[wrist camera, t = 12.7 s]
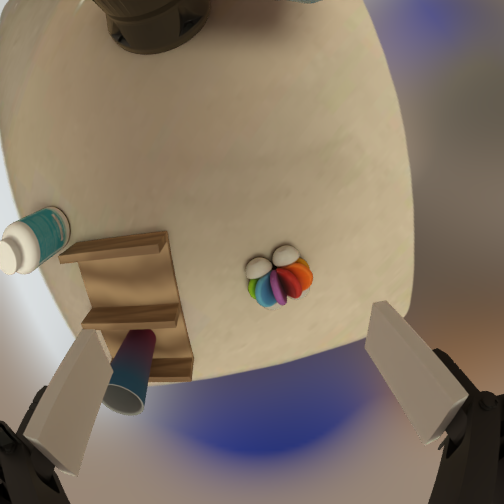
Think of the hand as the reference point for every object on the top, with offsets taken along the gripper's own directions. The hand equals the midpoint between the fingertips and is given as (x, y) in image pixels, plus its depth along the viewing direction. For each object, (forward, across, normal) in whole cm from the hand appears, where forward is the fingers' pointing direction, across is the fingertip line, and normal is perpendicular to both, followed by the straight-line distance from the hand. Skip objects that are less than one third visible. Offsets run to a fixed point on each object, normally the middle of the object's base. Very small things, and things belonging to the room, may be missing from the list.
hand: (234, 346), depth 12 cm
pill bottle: (+29, -29, +1) cm, 41 cm away
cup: (+28, -17, -20) cm, 38 cm away
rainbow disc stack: (+29, +6, -10) cm, 32 cm away
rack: (+29, -17, -14) cm, 36 cm away
